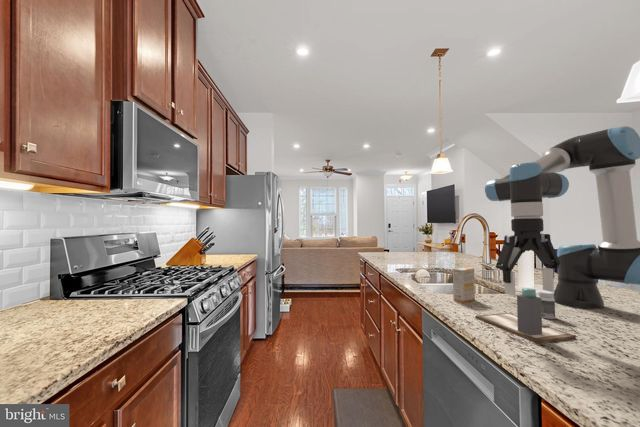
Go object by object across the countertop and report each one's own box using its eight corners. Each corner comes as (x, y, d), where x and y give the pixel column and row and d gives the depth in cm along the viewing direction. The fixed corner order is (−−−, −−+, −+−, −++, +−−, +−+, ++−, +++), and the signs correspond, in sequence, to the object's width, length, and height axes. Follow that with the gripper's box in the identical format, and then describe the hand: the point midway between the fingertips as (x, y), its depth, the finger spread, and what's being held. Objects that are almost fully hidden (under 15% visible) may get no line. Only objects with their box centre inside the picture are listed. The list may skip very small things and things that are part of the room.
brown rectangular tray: (507, 315, 103) (507, 310, 103) (575, 338, 82) (575, 333, 82) (475, 318, 100) (475, 313, 100) (538, 343, 79) (538, 338, 79)
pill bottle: (558, 319, 98) (557, 293, 99) (542, 318, 99) (541, 293, 100) (550, 315, 103) (549, 290, 103) (535, 314, 104) (534, 290, 104)
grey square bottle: (528, 329, 87) (527, 287, 87) (542, 334, 83) (541, 290, 83) (517, 330, 86) (516, 288, 86) (530, 335, 82) (529, 291, 82)
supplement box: (464, 297, 128) (463, 266, 128) (475, 300, 124) (474, 268, 124) (452, 300, 124) (452, 268, 124) (463, 302, 119) (462, 269, 120)
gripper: (547, 217, 92) (550, 286, 92) (480, 218, 86) (482, 293, 86) (573, 216, 85) (577, 292, 84) (501, 218, 79) (504, 299, 78)
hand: (529, 292), depth 85 cm, fingers open, 13 cm apart
